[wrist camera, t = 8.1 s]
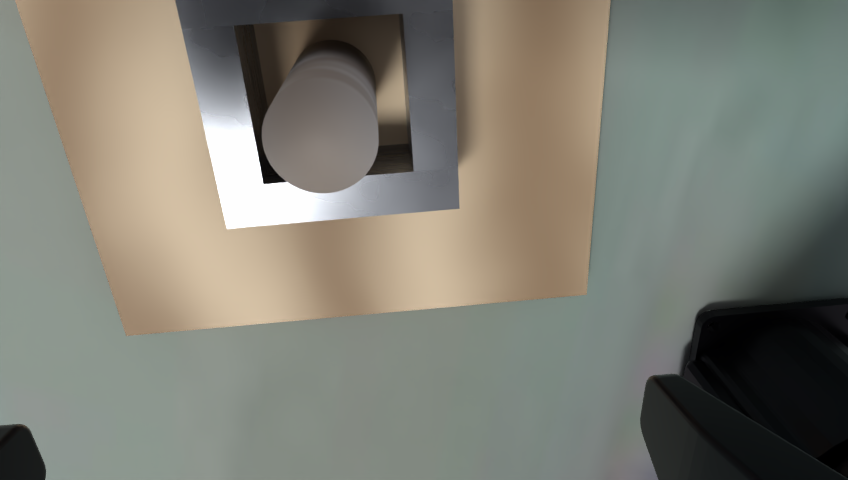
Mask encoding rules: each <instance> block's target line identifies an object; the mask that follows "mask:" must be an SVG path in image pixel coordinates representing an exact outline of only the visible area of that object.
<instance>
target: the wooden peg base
mask: <svg viewBox="0 0 848 480" xmlns="http://www.w3.org/2000/svg"><path fill="white" fill-rule="evenodd" d="M15 1H16V4H17V7H18V10H19V13H20V16H21V20H22V23H23V26H24V29H25V32H26V35H27V38H28V41H29V44H30V47H31V50H32V53H33V56H34V59H35V62H36V65H37V68H38V71H39V74H40V77H41V80H42V83H43V86H44V89H45V92H46V95H47V98H48V101H49V104H50V107H51V110H52V113H53V116H54V119H55V122H56V125H57V128H58V131H59V134H60V137H61V140H62V143H63V146H64V149H65V152H66V155H67V158H68V161H69V164H70V167H71V170H72V173H73V176H74V179H75V182H76V185H77V188H78V191H79V194H80V197H81V200H82V203H83V207H84V210H85V213H86V216H87V219H88V222H89V225H90V228H91V231H92V234H93V237H94V240H95V243H96V246H97V249H98V252H99V255H100V258H101V261H102V264H103V267H104V270H105V273H106V276H107V279H108V282H109V285H110V288H111V291H112V294H113V297H114V300H115V303H116V306H117V309H118V312H119V315H120V318H121V321H122V324H123V327H124V330H125V333H126V336H130V335H141V334H152V333H163V332H174V331H186V330H197V329H208V328H219V327H230V326H242V325H253V324H264V323H275V322H286V321H298V320H309V319H320V318H331V317H342V316H353V315H365V314H376V313H387V312H398V311H409V310H421V309H432V308H443V307H454V306H465V305H476V304H488V303H499V302H510V301H521V300H532V299H544V298H555V297H566V296H577V295H586V294H587V282H588V270H589V258H590V246H591V233H592V221H593V209H594V197H595V184H596V172H597V160H598V148H599V136H600V123H601V111H602V99H603V87H604V75H605V62H606V50H607V38H608V26H609V14H610V1H611V0H453V29H454V58H455V88H456V118H457V148H458V177H459V207H460V209H451V210H439V211H428V212H416V213H405V214H393V215H381V216H370V217H358V218H347V219H335V220H324V221H312V222H301V223H289V224H278V225H266V226H255V227H243V228H232V229H227V227H226V223H225V218H224V214H223V209H222V205H221V201H220V196H219V192H218V187H217V183H216V179H215V174H214V170H213V165H212V161H211V157H210V152H209V148H208V143H207V139H206V134H205V130H204V126H203V121H202V117H201V112H200V108H199V104H198V99H197V95H196V90H195V86H194V81H193V77H192V73H191V68H190V64H189V59H188V55H187V51H186V46H185V42H184V37H183V33H182V28H181V24H180V20H179V15H178V11H177V6H176V2H175V0H15ZM253 25H254V31H255V36H256V42H257V48H258V53H259V59H260V65H261V71H262V76H263V82H264V88H265V93H266V99H267V105H268V111H267V113H266V115H265V118H264V121H263V126H262V144H263V148H264V152H265V154H266V157H267V159H268V161H269V163H270V165H271V166H272V167H273V169H274V170H275V171H276V172H277V173H278V174H279V176H280V177H282V178H283V179H284V180H285V181H287V182H288V183H290V184H291V185H293V186H295V187H297V188H299V189H302V190H305V191H308V192H313V193H333V192H338V191H341V190H344V189H347V188H349V187H351V186H352V185H354V184H356V183H357V182H358V181H360V180H361V179H362V178H363V177H364V176H365V175H366V174H367V172H368V171H369V170H370V168H371V167H372V165H373V163H374V161H375V158H376V155H377V151H378V146H383V145H395V144H408V134H407V120H406V106H405V92H404V78H403V64H402V50H401V36H400V22H399V14H390V15H376V16H362V17H348V18H334V19H319V20H305V21H291V22H277V23H263V24H253Z"/></svg>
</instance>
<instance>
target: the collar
mask: <svg viewBox="0 0 848 480" xmlns="http://www.w3.org/2000/svg"><path fill="white" fill-rule="evenodd" d="M175 2H176V6H177V11H178V15H179V20H180V24H181V28H182V33H183V37H184V42H185V46H186V51H187V55H188V59H189V64H190V68H191V73H192V77H193V81H194V86H195V90H196V95H197V99H198V104H199V108H200V112H201V117H202V121H203V126H204V130H205V134H206V139H207V143H208V148H209V152H210V157H211V161H212V165H213V170H214V174H215V179H216V183H217V187H218V192H219V196H220V201H221V205H222V209H223V214H224V218H225V223H226V227H227V229H232V228H243V227H255V226H266V225H278V224H289V223H301V222H312V221H324V220H335V219H347V218H358V217H370V216H381V215H393V214H405V213H416V212H428V211H439V210H451V209H460V207H459V177H458V148H457V118H456V88H455V58H454V29H453V0H175ZM390 14H399V22H400V36H401V50H402V64H403V78H404V92H405V106H406V120H407V134H408V144H395V145H383V146H378V151H377V155H376V158H375V161H374V163H373V165H372V167H371V168H370V170H369V171H368V172H367V174H366V175H365V176H364V177H363V178H362V179H361V180H360V181H358V182H357V183H356V184H354V185H352V186H351V187H349V188H347V189H344V190H341V191H338V192H333V193H313V192H308V191H305V190H302V189H299V188H297V187H295V186H293V185H291V184H290V183H288V182H287V181H285V180H284V179H283V178H282V177H280V176H279V174H278V173H277V172H276V171H275V170H274V169H273V167H272V166H271V165H270V163H269V161H268V159H267V157H266V154H265V152H264V148H263V144H262V126H263V121H264V118H265V115H266V113H267V111H268V105H267V99H266V93H265V88H264V82H263V76H262V71H261V65H260V59H259V53H258V48H257V42H256V36H255V31H254V25H253V24H263V23H277V22H291V21H305V20H319V19H334V18H348V17H362V16H376V15H390Z"/></svg>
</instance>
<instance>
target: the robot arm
mask: <svg viewBox="0 0 848 480" xmlns="http://www.w3.org/2000/svg"><path fill="white" fill-rule="evenodd" d="M712 322H714V324H713V325H711V326H709V327H708V325H709V324H710V323H712ZM640 424H641V430H642V434H643V437H644V440H645V443H646V446H647V449H648V451H649V454H650V457H651V460H652V463H653V466H654V468H655V471H656V474H657V477H658V480H848V298H841V299H831V300H820V301H809V302H798V303H787V304H776V305H765V306H754V307H743V308H733V309H722V310H711V311H707V312H704V313H703V314H701V315H700V316H699V317H698V319H697V321H696V325H695V331H694V336H693V342H692V347H691V353H690V358H689V362H688V364H687V365H686V367H685V372H684V378H683V377H681V376H679V375H677V374H665V375H653V376H651V377H649V378H648V380H647V382H646V386H645V392H644V398H643V404H642V410H641V417H640ZM45 478H46V469H45V464H44V461H43V459H42V457H41V454H40V452H39V450H38V447H37V445H36V443H35V440H34V438H33V436H32V433H31V431H30V429H29V428H28V427H27V426H25V425H22V424H12V425H0V480H45Z"/></svg>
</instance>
